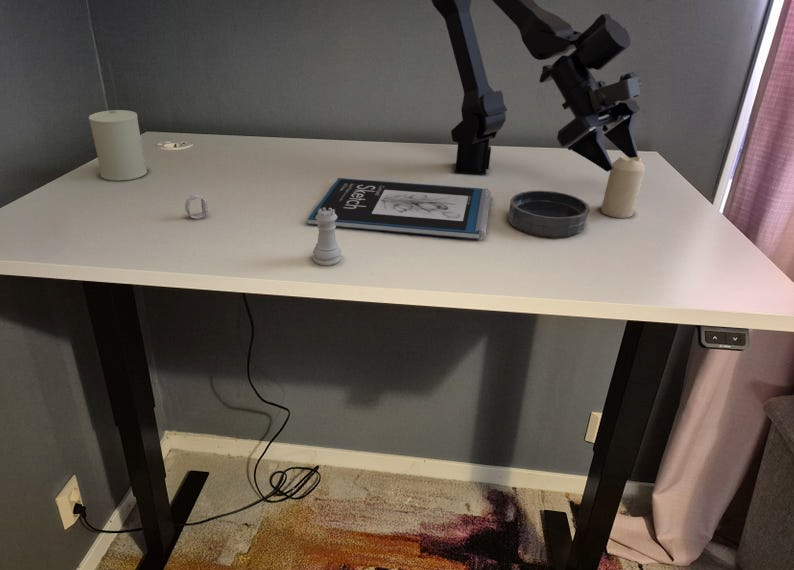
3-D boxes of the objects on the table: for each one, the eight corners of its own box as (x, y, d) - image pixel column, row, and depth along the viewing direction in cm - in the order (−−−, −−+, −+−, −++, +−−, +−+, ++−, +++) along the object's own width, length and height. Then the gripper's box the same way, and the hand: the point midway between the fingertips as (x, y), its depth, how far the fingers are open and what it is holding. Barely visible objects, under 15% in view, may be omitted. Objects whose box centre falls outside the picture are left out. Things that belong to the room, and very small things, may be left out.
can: (146, 164, 136) (135, 106, 129) (148, 178, 129) (138, 117, 122) (100, 168, 133) (87, 109, 127) (100, 182, 126) (87, 120, 119)
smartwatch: (188, 221, 110) (185, 199, 108) (185, 217, 112) (182, 195, 110) (209, 218, 112) (206, 196, 109) (205, 213, 113) (202, 192, 111)
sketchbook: (338, 184, 127) (338, 174, 126) (490, 197, 121) (492, 186, 120) (307, 224, 109) (307, 213, 108) (484, 242, 104) (486, 230, 103)
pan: (508, 235, 106) (511, 214, 104) (507, 207, 117) (510, 188, 115) (588, 241, 104) (593, 221, 102) (580, 212, 115) (584, 193, 113)
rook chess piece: (312, 254, 100) (310, 205, 95) (340, 253, 100) (340, 204, 96) (313, 267, 96) (311, 216, 91) (342, 266, 96) (342, 216, 92)
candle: (628, 207, 117) (642, 153, 112) (636, 218, 113) (651, 162, 107) (597, 206, 118) (610, 152, 112) (604, 217, 113) (618, 161, 108)
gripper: (588, 63, 100) (638, 149, 99) (642, 50, 110) (687, 127, 110) (536, 107, 109) (582, 185, 108) (591, 91, 119) (632, 162, 119)
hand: (623, 164), depth 111 cm, fingers open, 9 cm apart
